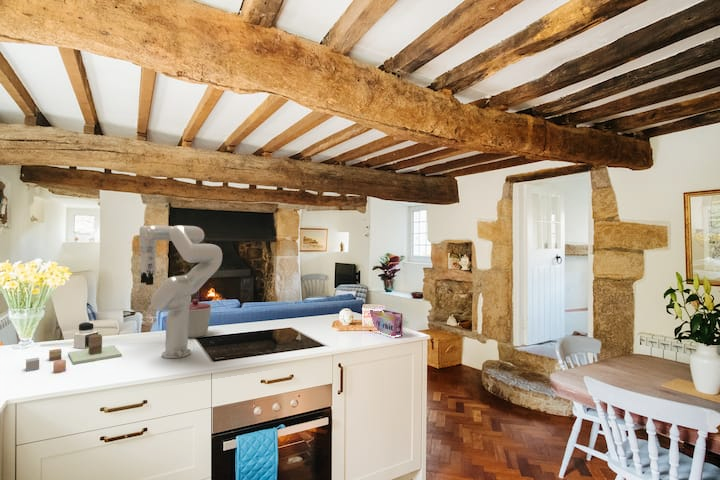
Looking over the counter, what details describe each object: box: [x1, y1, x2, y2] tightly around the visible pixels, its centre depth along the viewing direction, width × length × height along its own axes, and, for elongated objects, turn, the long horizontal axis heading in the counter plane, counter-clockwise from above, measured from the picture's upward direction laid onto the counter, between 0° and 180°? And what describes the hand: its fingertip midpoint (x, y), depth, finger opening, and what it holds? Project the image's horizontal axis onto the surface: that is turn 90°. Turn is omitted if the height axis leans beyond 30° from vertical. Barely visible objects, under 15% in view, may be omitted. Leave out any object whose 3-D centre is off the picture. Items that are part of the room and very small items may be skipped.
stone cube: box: [25, 357, 40, 372], centre depth 153 cm, size 4×4×4 cm
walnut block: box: [87, 333, 103, 355], centre depth 172 cm, size 4×4×8 cm
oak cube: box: [48, 348, 62, 362], centre depth 166 cm, size 4×4×4 cm
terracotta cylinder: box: [52, 359, 67, 374], centre depth 151 cm, size 4×4×4 cm
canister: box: [188, 298, 213, 339], centre depth 211 cm, size 18×18×21 cm
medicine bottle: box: [73, 321, 99, 350], centre depth 186 cm, size 7×7×12 cm
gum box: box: [370, 309, 403, 336], centre depth 225 cm, size 24×8×14 cm, turn 40°
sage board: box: [67, 345, 123, 365], centre depth 172 cm, size 18×18×1 cm
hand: (146, 283), depth 186 cm, fingers open, 9 cm apart
